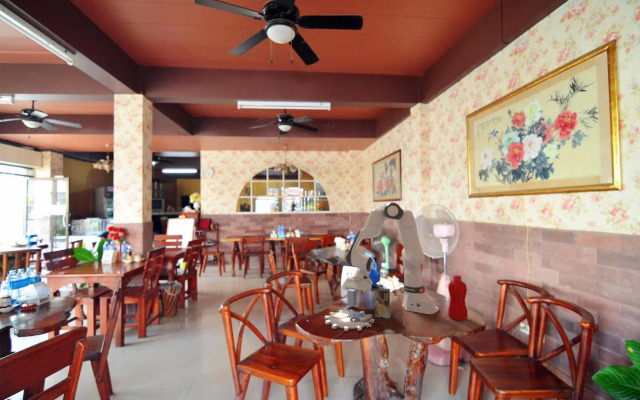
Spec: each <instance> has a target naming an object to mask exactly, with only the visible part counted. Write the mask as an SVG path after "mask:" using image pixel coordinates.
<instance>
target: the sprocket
mask: <svg viewBox="0 0 640 400" xmlns="http://www.w3.org/2000/svg"><path fill="white" fill-rule="evenodd" d="M365 312H366V311H364V310H361V311H357V310H354V309H349V310H342V309H338V311H336V312H334V311H330V312H329V313H328V315H325V316H324V320H325V321H324V322H325V324H326V325H327V326H329V325H331V328H332V329H334V330H336V329H342V330H344V332H348V331H349V330H357V332H358V331H362V329H363V328H368V327H370V328H371V327H372V324H374V323H375V318H373V314H366V313H365ZM369 323H370V324H369ZM365 326H366V327H365Z"/></svg>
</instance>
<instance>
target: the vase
mask: <svg viewBox="0 0 640 400" xmlns="http://www.w3.org/2000/svg"><path fill="white" fill-rule="evenodd" d="M368 277H369V278H370V279H371V281H372V282H373V284H372V285H371V286H374V287H376V286H375V284H376V283H377V282H379V283H380V280H381V274H380V273H379V272H378V271H377V270H375V268H374V267H373V268H372V270H371V272H370V273H369V275H368Z"/></svg>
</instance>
